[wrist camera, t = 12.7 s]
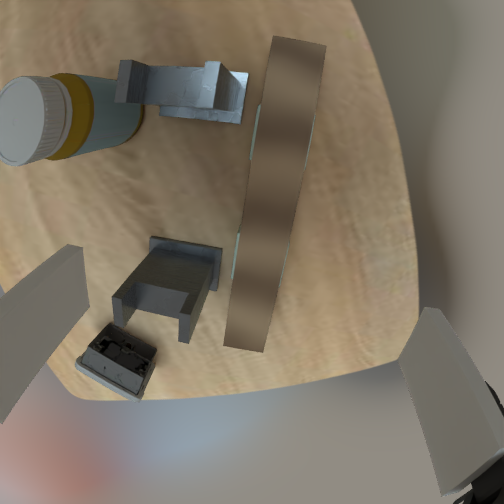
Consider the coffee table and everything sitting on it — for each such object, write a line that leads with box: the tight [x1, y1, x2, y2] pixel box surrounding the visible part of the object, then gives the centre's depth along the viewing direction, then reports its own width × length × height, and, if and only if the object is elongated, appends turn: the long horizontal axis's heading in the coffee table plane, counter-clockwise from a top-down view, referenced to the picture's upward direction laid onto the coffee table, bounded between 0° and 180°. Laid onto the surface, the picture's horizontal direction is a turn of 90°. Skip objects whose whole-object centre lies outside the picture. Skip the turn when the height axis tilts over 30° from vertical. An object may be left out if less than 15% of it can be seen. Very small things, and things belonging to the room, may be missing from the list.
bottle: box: [0, 73, 143, 166], centre depth 21 cm, size 7×7×15 cm
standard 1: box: [112, 236, 222, 344], centre depth 29 cm, size 5×8×11 cm, turn 81°
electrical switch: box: [75, 323, 157, 402], centre depth 36 cm, size 9×5×9 cm, turn 60°
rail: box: [223, 36, 326, 353], centre depth 26 cm, size 28×4×4 cm, turn 171°
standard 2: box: [114, 60, 249, 124], centre depth 22 cm, size 5×8×11 cm, turn 81°
